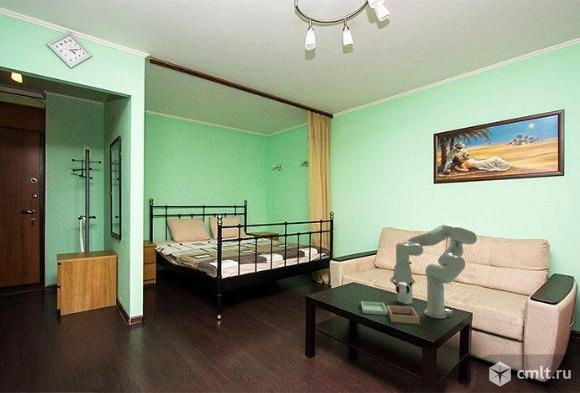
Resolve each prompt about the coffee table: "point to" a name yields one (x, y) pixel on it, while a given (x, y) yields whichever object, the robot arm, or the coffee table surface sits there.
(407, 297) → the small box
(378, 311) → the tray
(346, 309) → the coffee table surface
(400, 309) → the tan square frame
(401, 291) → the ball
